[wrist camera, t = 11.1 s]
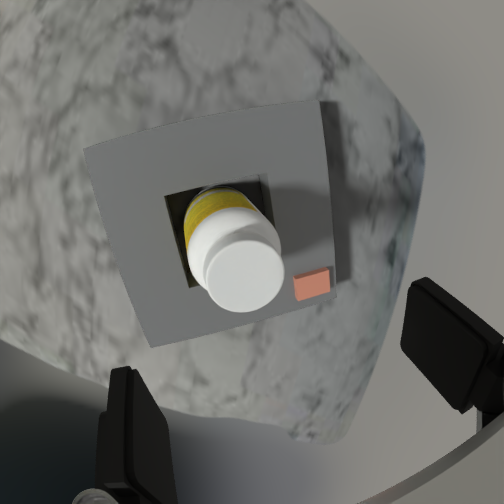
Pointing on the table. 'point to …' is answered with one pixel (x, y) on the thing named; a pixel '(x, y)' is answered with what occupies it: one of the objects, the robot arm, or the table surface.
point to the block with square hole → (206, 173)
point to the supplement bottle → (232, 249)
